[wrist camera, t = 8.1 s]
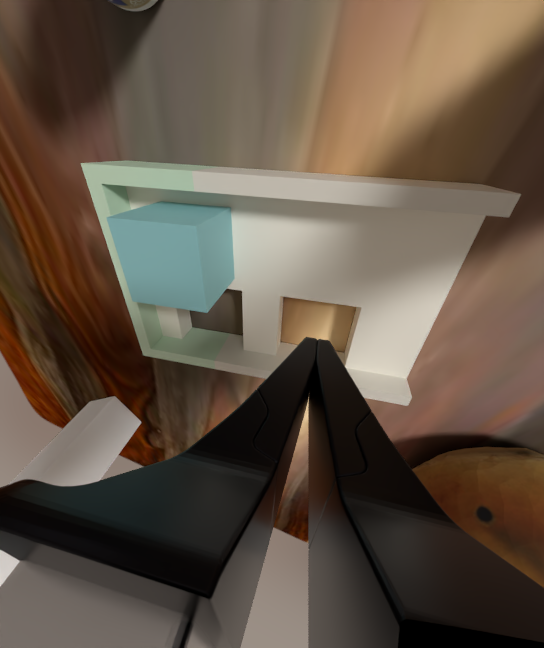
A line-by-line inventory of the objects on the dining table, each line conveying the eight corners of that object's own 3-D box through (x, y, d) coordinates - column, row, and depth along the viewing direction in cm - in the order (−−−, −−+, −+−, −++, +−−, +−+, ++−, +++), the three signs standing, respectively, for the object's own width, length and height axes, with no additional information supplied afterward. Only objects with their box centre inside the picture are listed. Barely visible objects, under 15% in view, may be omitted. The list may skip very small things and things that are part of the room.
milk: (115, 394, 36) (-102, 633, 18) (142, 422, 39) (-24, 654, 21) (89, 400, 39) (-125, 617, 21) (117, 426, 41) (-52, 637, 23)
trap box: (481, 184, 15) (521, 194, 12) (398, 370, 23) (407, 405, 20) (126, 160, 18) (80, 163, 15) (166, 330, 27) (143, 355, 24)
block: (230, 207, 17) (196, 226, 13) (234, 278, 19) (207, 312, 15) (160, 201, 17) (106, 217, 13) (173, 270, 20) (132, 301, 16)
